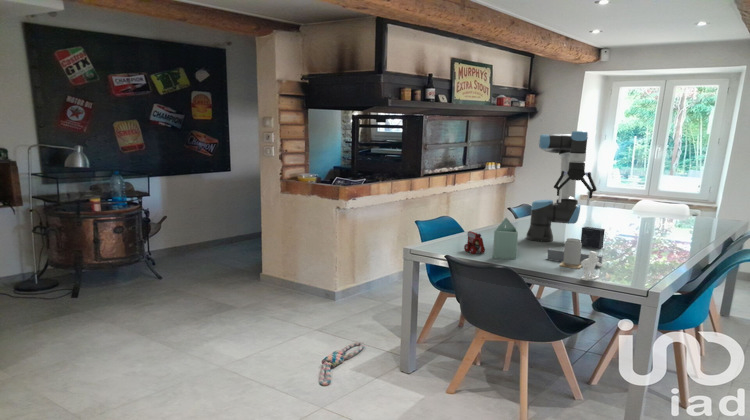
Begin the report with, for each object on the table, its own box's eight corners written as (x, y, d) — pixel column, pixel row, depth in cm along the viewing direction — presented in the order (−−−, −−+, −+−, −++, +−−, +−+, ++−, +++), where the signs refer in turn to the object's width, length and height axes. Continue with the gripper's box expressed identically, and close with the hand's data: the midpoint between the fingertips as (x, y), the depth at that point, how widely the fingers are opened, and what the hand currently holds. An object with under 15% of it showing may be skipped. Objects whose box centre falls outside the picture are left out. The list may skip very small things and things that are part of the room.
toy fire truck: (476, 255, 247) (477, 235, 245) (462, 250, 258) (463, 230, 256) (487, 254, 250) (488, 234, 248) (473, 249, 261) (474, 230, 259)
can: (560, 261, 235) (562, 237, 233) (575, 261, 236) (577, 237, 234) (567, 266, 228) (569, 241, 226) (582, 266, 228) (585, 241, 227)
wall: (547, 259, 243) (548, 249, 242) (549, 257, 246) (549, 247, 245) (600, 267, 230) (601, 256, 229) (601, 265, 234) (602, 255, 233)
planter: (505, 261, 237) (507, 221, 234) (492, 257, 243) (494, 218, 240) (526, 256, 247) (528, 218, 244) (513, 253, 253) (515, 216, 250)
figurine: (590, 282, 206) (592, 254, 204) (577, 277, 212) (579, 250, 210) (604, 279, 210) (606, 252, 209) (591, 275, 216) (593, 249, 214)
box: (603, 247, 273) (605, 228, 271) (599, 249, 268) (601, 230, 266) (584, 244, 280) (585, 226, 278) (579, 245, 275) (581, 227, 274)
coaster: (559, 266, 230) (559, 264, 230) (563, 262, 238) (563, 260, 238) (579, 269, 226) (579, 267, 226) (582, 264, 233) (583, 263, 233)
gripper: (549, 160, 250) (546, 202, 253) (603, 163, 237) (599, 206, 240) (553, 160, 256) (549, 200, 259) (605, 162, 243) (601, 205, 247)
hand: (573, 203), depth 250 cm, fingers open, 13 cm apart
